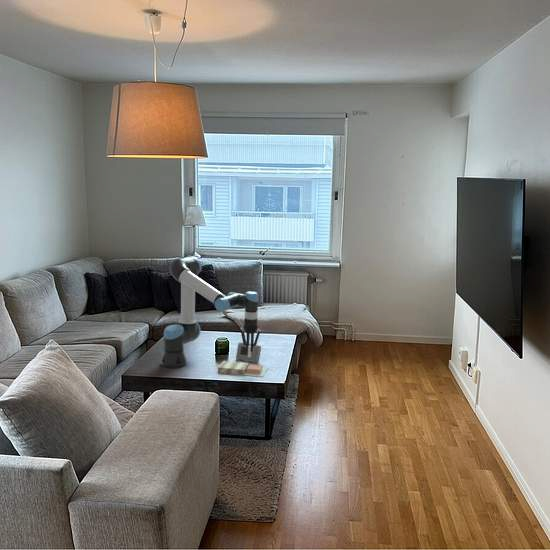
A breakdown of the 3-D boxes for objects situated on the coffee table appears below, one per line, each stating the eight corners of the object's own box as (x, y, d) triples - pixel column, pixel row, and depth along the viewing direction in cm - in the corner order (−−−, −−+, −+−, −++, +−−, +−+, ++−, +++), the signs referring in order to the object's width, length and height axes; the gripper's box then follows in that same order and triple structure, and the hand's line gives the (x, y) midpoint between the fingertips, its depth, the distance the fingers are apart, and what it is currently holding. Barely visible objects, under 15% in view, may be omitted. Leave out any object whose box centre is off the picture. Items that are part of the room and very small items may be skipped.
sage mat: (244, 375, 317) (244, 374, 317) (249, 367, 331) (249, 366, 331) (262, 377, 315) (262, 376, 315) (267, 368, 329) (267, 368, 329)
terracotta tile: (246, 372, 320) (246, 368, 320) (249, 368, 327) (249, 364, 327) (259, 373, 319) (259, 369, 318) (262, 369, 326) (262, 365, 325)
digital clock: (234, 359, 344) (234, 343, 342) (243, 356, 351) (243, 340, 349) (254, 365, 335) (254, 348, 333) (263, 361, 342) (263, 345, 340)
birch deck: (217, 372, 321) (218, 367, 320) (223, 365, 333) (223, 360, 332) (244, 374, 318) (244, 369, 318) (249, 367, 330) (249, 363, 329)
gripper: (238, 318, 315) (237, 357, 320) (260, 320, 313) (258, 359, 317) (241, 315, 323) (240, 353, 327) (263, 317, 320) (261, 355, 325)
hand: (249, 356), depth 322 cm, fingers closed
